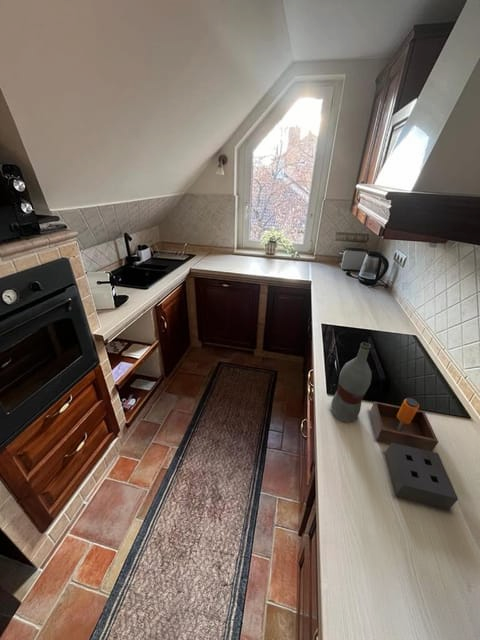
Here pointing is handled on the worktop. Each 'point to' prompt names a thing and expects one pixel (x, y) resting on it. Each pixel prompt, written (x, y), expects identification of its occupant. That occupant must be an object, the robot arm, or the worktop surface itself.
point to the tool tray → (402, 428)
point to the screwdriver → (407, 411)
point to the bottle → (352, 386)
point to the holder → (420, 476)
